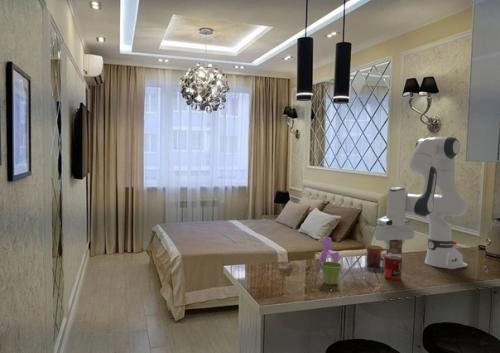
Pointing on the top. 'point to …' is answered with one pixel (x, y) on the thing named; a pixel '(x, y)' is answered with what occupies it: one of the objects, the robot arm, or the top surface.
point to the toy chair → (328, 251)
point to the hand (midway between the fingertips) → (394, 248)
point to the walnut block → (395, 247)
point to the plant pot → (331, 272)
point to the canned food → (393, 266)
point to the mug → (374, 255)
